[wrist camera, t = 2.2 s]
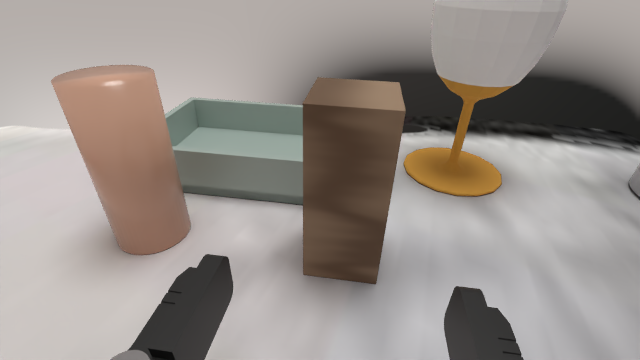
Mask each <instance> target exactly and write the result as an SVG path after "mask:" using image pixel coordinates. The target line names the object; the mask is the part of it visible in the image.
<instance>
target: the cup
mask: <svg viewBox="0 0 640 360" xmlns="http://www.w3.org/2000/svg"><path fill="white" fill-rule="evenodd" d="M567 3H568V0H435V2H434V7H433V16H432V25H431V40H432V41H431V42H432V55H433V59H434V63H435V66H436V71H437V74H438V75H439V76H440V77H441V79H442V80H443V82H444V83H445V84H446V86H447V87H448V88H449V89H450V90H451V91H452V92H454V93H456V94H458V95H459V96H461V97H462V98H463V101H464V105H463V108H462V112H461V116H460V120H459V124H458V127H457V131H456V135H455V139H454V143H453V146H452V149H449V148H425V149H419V150H416V151H414V152H412V153H410V154H409V155H407V157H406V159H405V161H404V166H405V169H406V171H407V173H408V174H409V175H410V176H411V177H412V178H414V179H415V180H416V181H417V182H418V183H420V184H422V185H425V186H427V187H429V188H431V189H433V190H436V191H439V192H444V193H448V194H452V195H457V196H480V195H484V194H488V193H492V192H494V191H495V190H496V189H497V188H498V187H499V186H500V185H501V184H502V181H501V174H500V173H499V172H498V170H497V169H496V168H495V167H494V166H493V165H492V164H490V163H489V162H487V161H485V160H484V159H482V158H480V157H478V156H475V155H473V154H470V153H467V152H464V151H461V149H462V145H463V141H464V138H465V134H466V131H467V127H468V124H469V120H470V117H471V113H472V109H473V106H474V103H476V102H477V101H478V100H480V99H484V98H489V97H494V96H496V95H498V94H500V93H502V92H503V91H505V90H507V89H508V88H510V87H512V86H514V85H515V84H517V83H519V82H520V81H521V80H522V79H523V78H524V76H526V74H527V73H528V72H529V71H530V70H531V69H532V68H533V67H534V66H535V65H536V64H537V62H538V60H539V59H540V57H541V56H542V55H543V53H544V51H545V50H546V48H547V47H548V45H549V44H550V42H551V41H552V39H553V37H554V35H555V33H556V31H557V28H558V26H559V24H560V22H561V20H562V18H563V15H564V13H565V11H566V7H567Z"/></svg>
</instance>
